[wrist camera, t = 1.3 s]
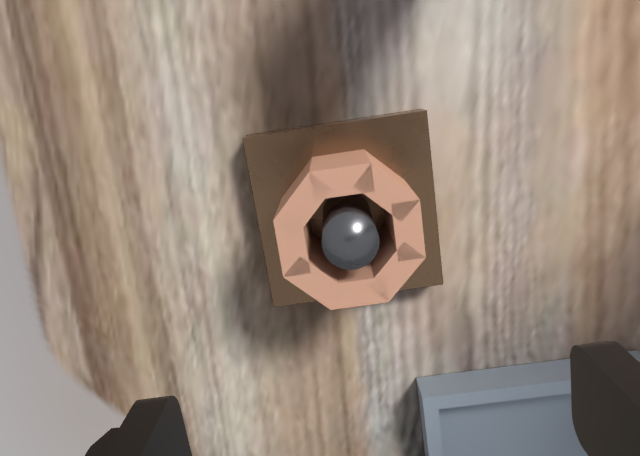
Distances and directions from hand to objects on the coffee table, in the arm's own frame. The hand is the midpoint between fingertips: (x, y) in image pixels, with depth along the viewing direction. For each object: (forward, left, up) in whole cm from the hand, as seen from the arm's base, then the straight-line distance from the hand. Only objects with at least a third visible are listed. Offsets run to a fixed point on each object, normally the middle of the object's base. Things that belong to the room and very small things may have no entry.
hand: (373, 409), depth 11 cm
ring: (0, 0, -17) cm, 17 cm away
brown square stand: (0, 0, -18) cm, 18 cm away
